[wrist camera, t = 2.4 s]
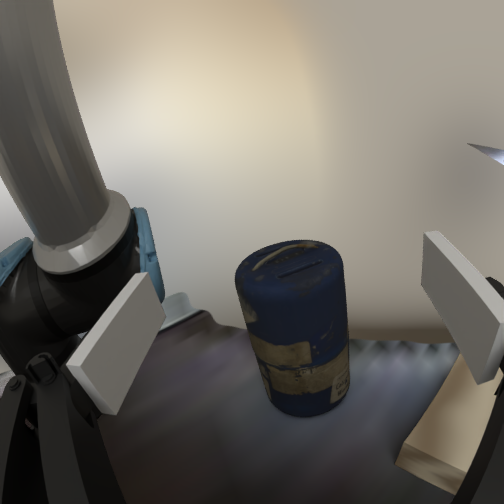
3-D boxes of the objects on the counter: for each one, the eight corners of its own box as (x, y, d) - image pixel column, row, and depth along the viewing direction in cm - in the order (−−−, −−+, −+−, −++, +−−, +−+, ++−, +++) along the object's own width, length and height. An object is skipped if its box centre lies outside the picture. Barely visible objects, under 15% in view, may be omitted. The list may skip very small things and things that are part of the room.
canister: (263, 372, 37) (225, 240, 30) (336, 352, 37) (320, 217, 30) (275, 432, 28) (228, 287, 21) (362, 407, 28) (359, 254, 21)
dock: (394, 464, 21) (404, 442, 19) (457, 369, 28) (466, 339, 26) (518, 520, 9) (546, 502, 7) (558, 408, 16) (578, 379, 14)
